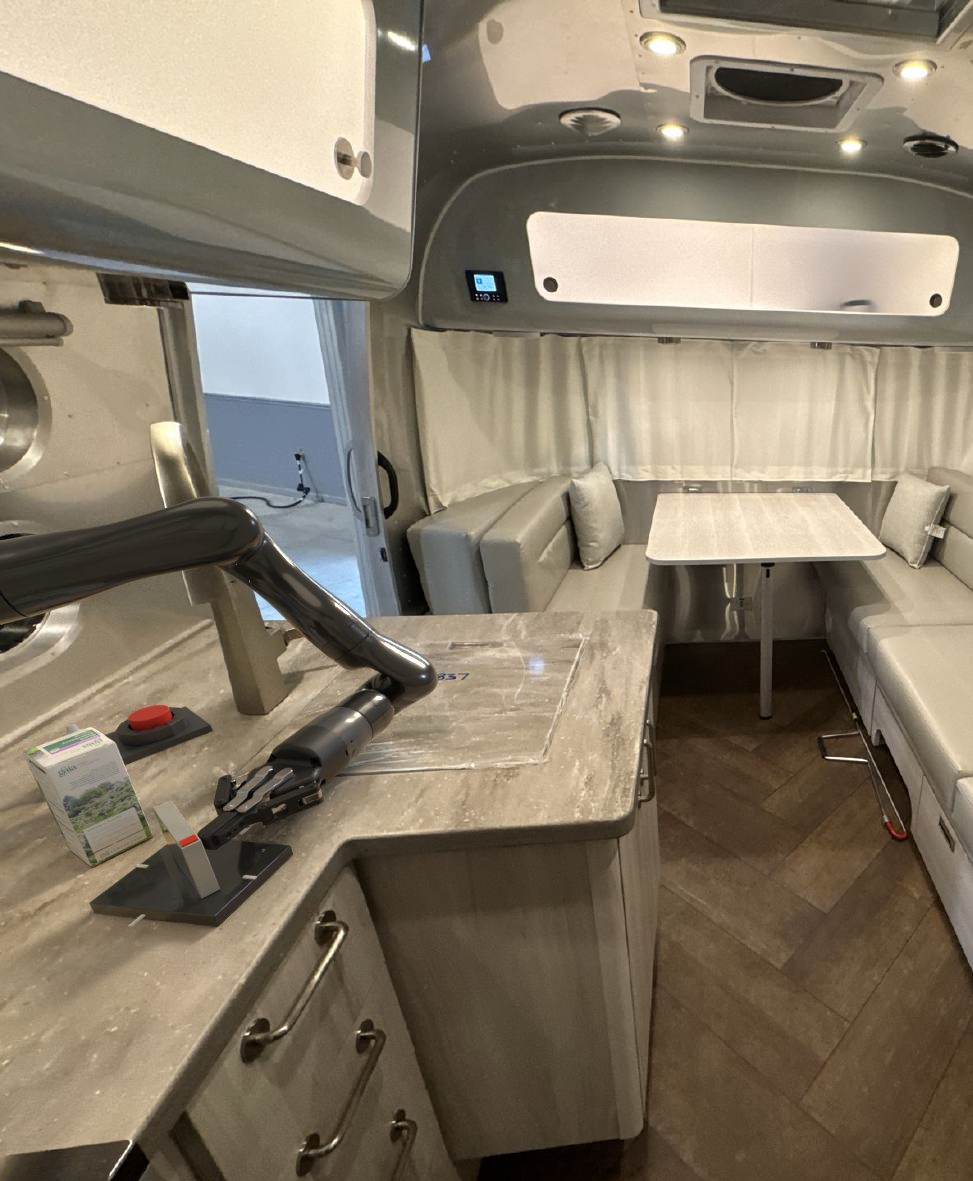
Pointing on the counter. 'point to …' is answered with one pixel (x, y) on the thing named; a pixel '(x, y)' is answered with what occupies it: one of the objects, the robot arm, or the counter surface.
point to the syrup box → (89, 794)
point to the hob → (173, 898)
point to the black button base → (158, 735)
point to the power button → (150, 717)
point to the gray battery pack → (186, 848)
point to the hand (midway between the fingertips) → (204, 843)
